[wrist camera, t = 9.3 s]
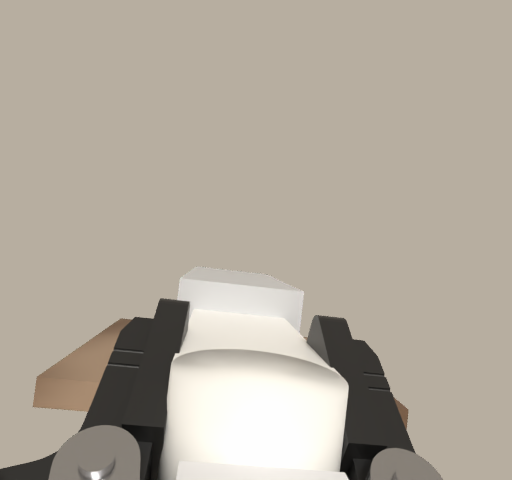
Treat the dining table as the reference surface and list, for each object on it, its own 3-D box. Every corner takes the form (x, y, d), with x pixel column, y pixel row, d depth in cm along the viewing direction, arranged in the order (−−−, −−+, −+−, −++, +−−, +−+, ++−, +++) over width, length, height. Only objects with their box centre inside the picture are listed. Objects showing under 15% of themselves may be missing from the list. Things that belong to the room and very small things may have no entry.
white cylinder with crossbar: (451, 715, 5) (482, 377, 5) (46, 708, 4) (94, 340, 4) (260, 335, 26) (267, 274, 26) (188, 328, 25) (196, 266, 25)
